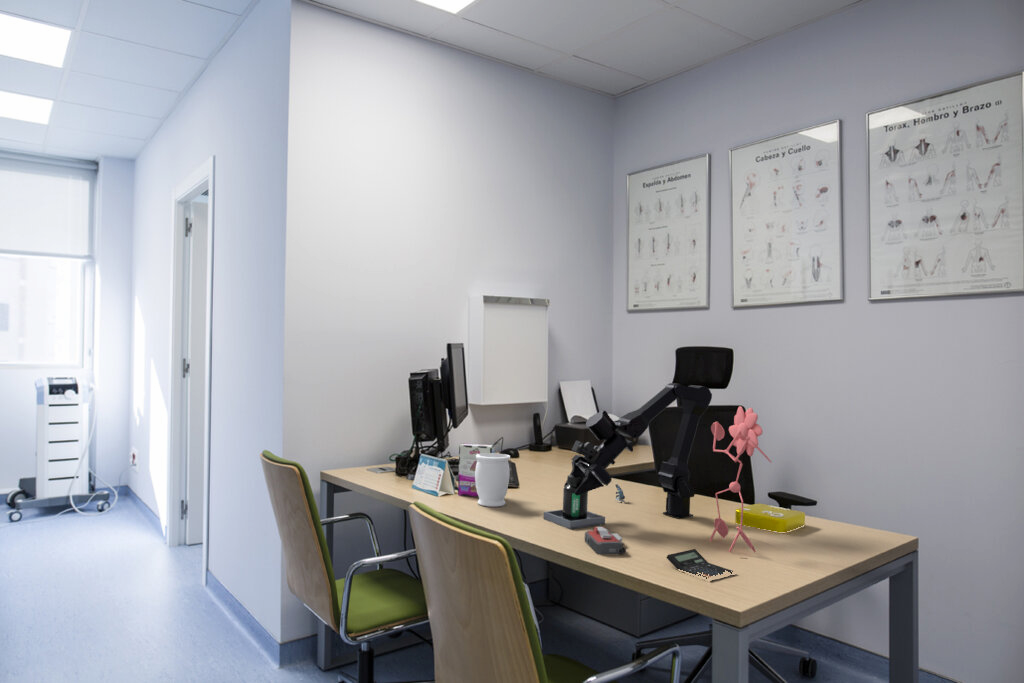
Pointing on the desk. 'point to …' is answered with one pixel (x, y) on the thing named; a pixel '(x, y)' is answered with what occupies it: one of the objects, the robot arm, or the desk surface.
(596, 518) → the tray
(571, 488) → the supplement bottle
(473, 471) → the candy bar box
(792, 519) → the element tile
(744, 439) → the figurine
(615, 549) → the walkie-talkie
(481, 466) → the jar
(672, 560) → the calculator
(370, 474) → the desk surface
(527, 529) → the desk surface
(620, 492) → the sculpture
